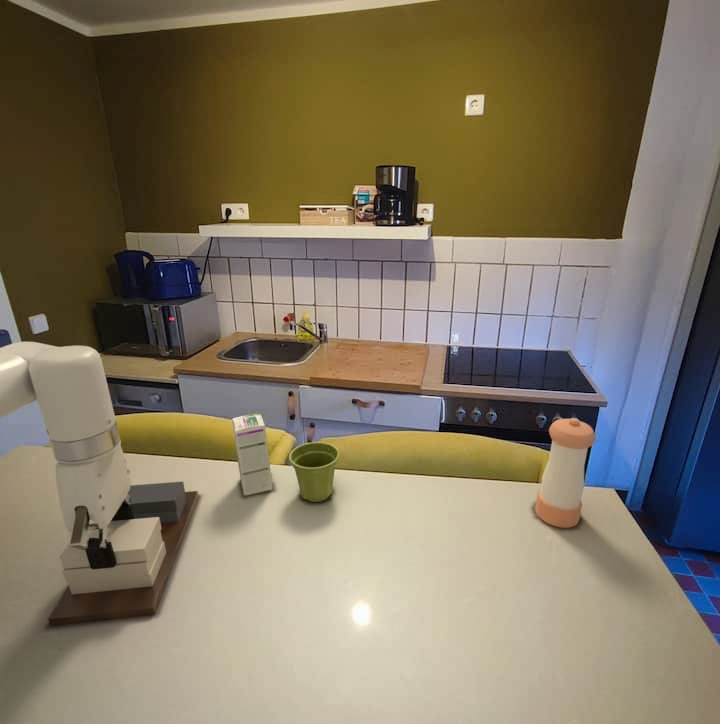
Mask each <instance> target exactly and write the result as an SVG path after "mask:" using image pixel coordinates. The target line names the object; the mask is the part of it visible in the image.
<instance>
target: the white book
mask: <svg viewBox="0 0 720 724" xmlns="http://www.w3.org/2000/svg"><path fill="white" fill-rule="evenodd" d="M91 523H92V522H89V524H91ZM160 531H161V523H160V519H159V517H153V518H141V519H130V520H118V521H110V523H109V524H108V525H107V542H111V543H112V547H113V551H114V555H115V558H116V562H117V563H116V564H119V563H129V562H139V561H147V560H148V558H149V555H150V553H151V551H152V549H153V546H154V544H155V542H156V540H157V537H158V535H159V533H160ZM90 538H99V529H95V530H90ZM70 542H71V540H70V541H69V543H68V544H67V545H66V547H65V548H64V550H63V551H62V553H61V554H60V556H59V558H60V562H61V565H62V568H63V570H64V569H67V568H78V567H88V566H90V564H89V561H88V558H87V554H86V551H85V550H82V549H78V548H73V547H71V546H70Z"/></svg>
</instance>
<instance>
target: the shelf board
mask: <svg viewBox="0 0 720 724" xmlns="http://www.w3.org/2000/svg"><path fill="white" fill-rule="evenodd" d="M185 497H186V504H185V507H184V509H183V512H182V514H181V517H180V519H179V522H172V523H161V536H162V541H163V542H164V544H165V548H166V554H165V557H164V559H163V562H162V564H161V567H160V569H159V572H158V574H157V577H156V579H155V582H154V584H153V586H150V587H140V588H130V589H121V590H111V591H101V592H91V593H82V594H71V591H70V588H69V585H68V586H67V587H66V589H65V591H63V594H62V595H61V597H60V599H59V600H58V601H57V603H56V605H55V606H54V608H53V609H52V611H51V613H50V615H49V616H48V618H47V622H48V624H49V626H58V625H67V624H75V623H85V622H87V623H88V622H95V621H96V622H97V621H105V620H112V619H113V620H114V619H121V618H131V617H139V616H149V615H155V614H156V612H157V610H158V607H159V604H160V602H161V599H162V596H163V593H164V591H165V588H166V585H167V582H168V580H169V577H170V575H171V572H172V569H173V566H174V565H175V564H174V563H175V561H176V558H177V555H178V553H179V551H180V550H179V549H180V547H181V545H182V542H183V539H184V536H185V533H186V531H187V528H188V525H189V523H190V520H191V518H192V514H193V512H194V509H195V506H196V503H197V501H198V498H199V492H198V490H191V491H185Z"/></svg>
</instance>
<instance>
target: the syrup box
mask: <svg viewBox="0 0 720 724" xmlns="http://www.w3.org/2000/svg"><path fill="white" fill-rule="evenodd" d="M231 421H232V428H233V429H232V430H233V438H234V445H235V450H236V451H235V452H236V457H237V465H238V472H239V478H240V484H241V488H242V489H241V490H242V494H243V496H250V495H255V494H260V493H264V492H269V491H272V490H273V481H272V480H273V479H272V472H271V462H270V454H269V447H268V439H267V429H266V425H265V422H264V420H263V416H262V414H261V413H251V414H245V415H240V416H236V417H232V418H231Z"/></svg>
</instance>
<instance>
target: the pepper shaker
mask: <svg viewBox="0 0 720 724" xmlns="http://www.w3.org/2000/svg"><path fill="white" fill-rule="evenodd" d="M548 433H549V436H550V439H551V446H550V451H549V457H548V460H547V463H546V466H545V467H544V471H543V474H542V476H541V485H540V488H539V490H538V492H537V493H536V494H537V495H536V501H535V506H534V507H535V508H534V509H535V513H536V515H537V517H539V519H540V520H541V521H543V522H545V523H547V524H549V525H551V526H554V527H556V528H562V529H564V528H565V529H567V528H568V529H570V528H572V527H575V526H577V524H579V522H580V518H581V517H580V516H581V513H582V508H583V502H582V495H583V492H584V488H585V465H586V459H587V455H588V448H591V447H592V446H593V445H594V443H595V441H596V434H595V431H594V429H593V428H592V426H591V425H589V424H588V423H585V422H584V421H581V420H579V419H578V418H575V417H571V418H560V419H556V420H555V421H554V422H552V424H551V425H550V426H549V428H548Z"/></svg>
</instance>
